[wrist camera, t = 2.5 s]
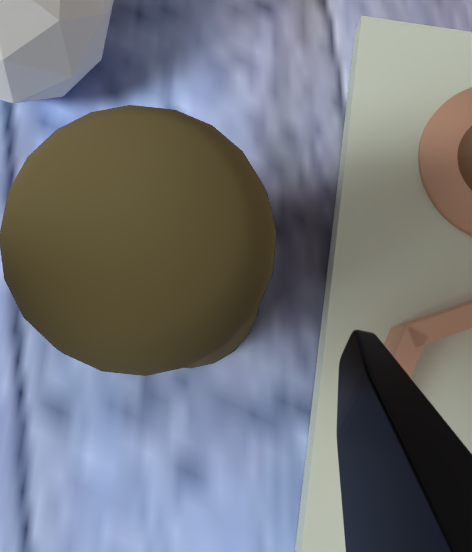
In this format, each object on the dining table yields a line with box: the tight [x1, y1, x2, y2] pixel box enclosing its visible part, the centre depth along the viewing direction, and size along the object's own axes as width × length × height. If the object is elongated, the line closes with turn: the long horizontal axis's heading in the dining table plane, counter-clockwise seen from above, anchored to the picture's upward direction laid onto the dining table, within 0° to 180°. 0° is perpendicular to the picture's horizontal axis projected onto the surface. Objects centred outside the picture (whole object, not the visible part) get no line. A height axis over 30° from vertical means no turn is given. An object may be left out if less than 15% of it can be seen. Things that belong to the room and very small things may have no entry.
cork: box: [0, 105, 277, 376], centre depth 12 cm, size 6×6×11 cm
